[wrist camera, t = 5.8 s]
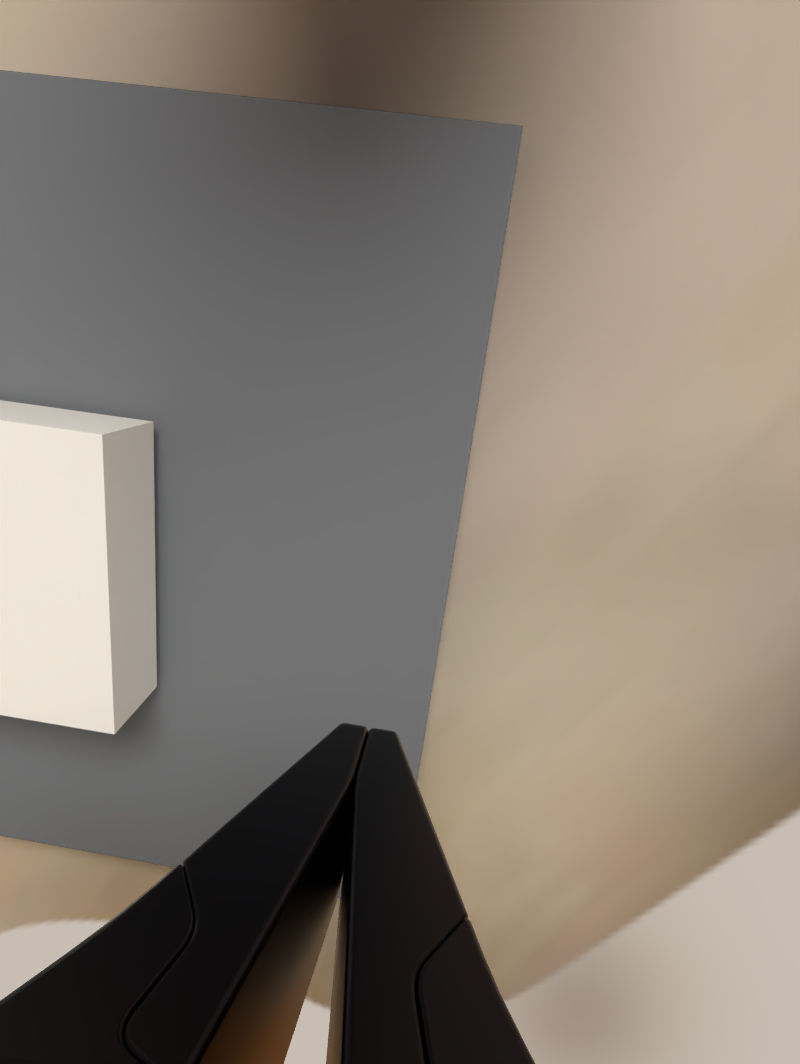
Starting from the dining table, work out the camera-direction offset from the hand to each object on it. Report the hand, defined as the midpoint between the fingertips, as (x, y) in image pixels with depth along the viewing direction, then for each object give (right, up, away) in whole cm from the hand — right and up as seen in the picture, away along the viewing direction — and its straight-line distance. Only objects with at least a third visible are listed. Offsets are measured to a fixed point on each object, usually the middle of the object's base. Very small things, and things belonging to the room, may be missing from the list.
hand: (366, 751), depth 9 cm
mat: (-8, +3, +7) cm, 11 cm away
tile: (-6, +2, +5) cm, 8 cm away
